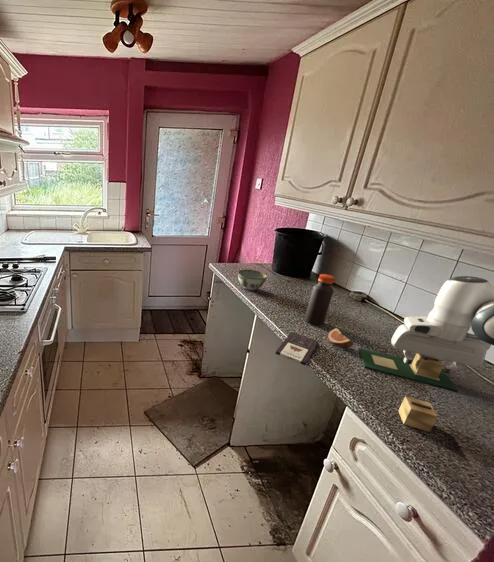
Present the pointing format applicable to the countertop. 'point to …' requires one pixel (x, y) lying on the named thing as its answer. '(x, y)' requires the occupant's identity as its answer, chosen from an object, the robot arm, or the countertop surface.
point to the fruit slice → (339, 338)
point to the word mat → (401, 369)
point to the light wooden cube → (417, 414)
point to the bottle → (320, 300)
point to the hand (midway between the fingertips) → (426, 367)
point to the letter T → (427, 365)
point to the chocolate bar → (297, 348)
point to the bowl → (251, 279)
